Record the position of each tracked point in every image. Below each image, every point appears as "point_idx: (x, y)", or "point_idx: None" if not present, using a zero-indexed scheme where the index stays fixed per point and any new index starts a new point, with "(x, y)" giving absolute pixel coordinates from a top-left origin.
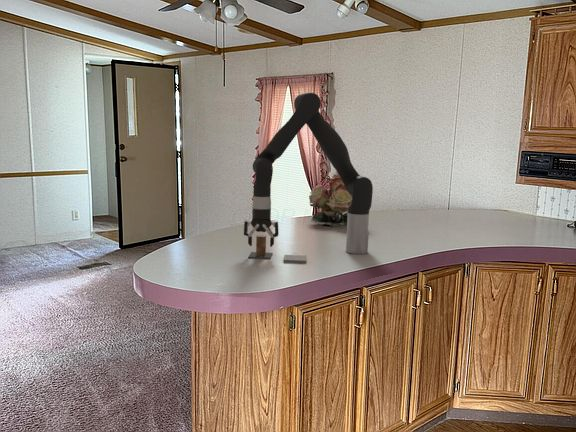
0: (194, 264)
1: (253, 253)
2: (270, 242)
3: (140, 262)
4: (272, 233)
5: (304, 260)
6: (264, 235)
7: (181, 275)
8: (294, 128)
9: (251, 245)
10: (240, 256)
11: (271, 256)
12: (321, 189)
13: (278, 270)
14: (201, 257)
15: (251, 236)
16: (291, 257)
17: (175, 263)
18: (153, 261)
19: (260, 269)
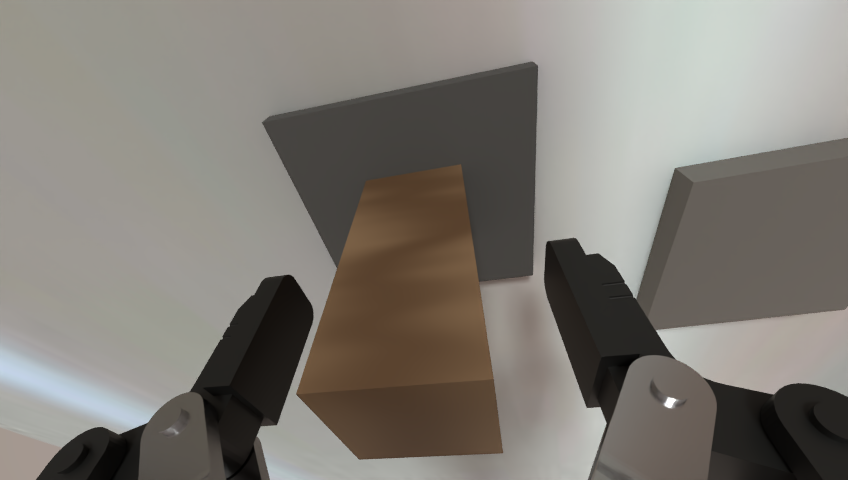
0: None
1: (329, 188)
2: (566, 337)
3: (13, 431)
4: (688, 463)
5: (829, 309)
6: (465, 405)
7: (279, 473)
8: None
9: (307, 305)
10: (266, 260)
11: (531, 191)
12: None
13: (587, 410)
14: (87, 341)
15: (235, 402)
16: (741, 260)
17: (124, 420)
18: (25, 418)
19: (500, 413)
